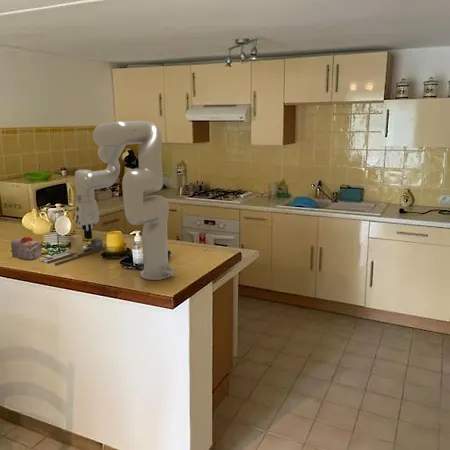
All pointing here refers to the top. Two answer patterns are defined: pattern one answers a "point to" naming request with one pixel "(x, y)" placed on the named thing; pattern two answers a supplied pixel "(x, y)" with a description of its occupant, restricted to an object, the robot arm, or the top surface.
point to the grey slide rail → (95, 246)
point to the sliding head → (76, 245)
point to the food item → (26, 248)
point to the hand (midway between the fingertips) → (88, 238)
